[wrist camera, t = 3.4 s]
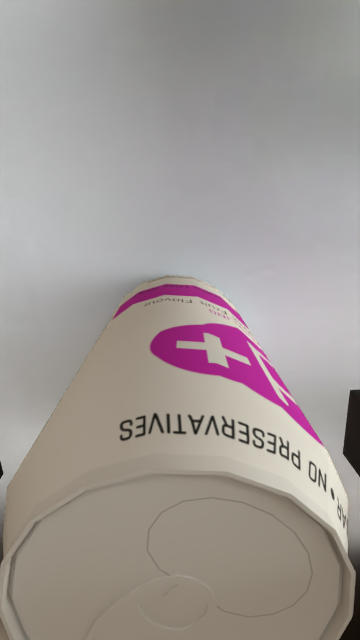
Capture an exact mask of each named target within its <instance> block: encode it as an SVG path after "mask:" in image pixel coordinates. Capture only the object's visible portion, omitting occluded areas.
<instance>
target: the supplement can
mask: <svg viewBox="0 0 360 640" xmlns="http://www.w3.org/2000/svg"><path fill="white" fill-rule="evenodd" d="M3 555H4V559H3V561H2V563H1V568H0V618H1V620H2V622H3V625H4V627H5V629H6V632H7V634H8V636H9V639H10V640H339V639H340V637H341V635H342V634H343V632H344V630H345V629H346V627H347V625H348V623H349V622H350V620H351V618H352V617H353V606H354V592H355V579H356V572H355V570H354V568H353V566H352V564H351V562H350V560H349V558H348V497H347V495H346V492H345V490H344V488H343V485H342V483H341V481H340V479H339V476H338V474H337V472H336V469H335V467H334V465H333V462H332V460H331V458H330V455H329V453H328V452H327V450H326V448H325V447H324V445H323V444H322V442H321V441H320V439H319V438H318V436H317V434H316V433H315V431H314V430H313V428H312V427H311V425H310V424H309V422H308V421H307V419H306V417H305V416H304V414H303V413H302V411H301V410H300V408H299V407H298V405H297V403H296V402H295V400H294V399H293V397H292V396H291V394H290V393H289V391H288V389H287V388H286V386H285V385H284V383H283V382H282V380H281V379H280V377H279V375H278V374H277V372H276V371H275V369H274V368H273V366H272V365H271V363H270V361H269V360H268V358H267V357H266V355H265V354H264V352H263V351H262V349H261V348H260V346H259V344H258V343H257V341H256V340H255V338H254V337H253V335H252V334H251V332H250V330H249V329H248V327H247V326H246V324H245V323H244V321H243V320H242V318H241V316H240V315H239V313H238V312H237V310H236V309H235V307H234V306H233V304H232V303H231V302H230V301H229V300H228V299H227V298H226V297H225V296H224V295H223V294H222V293H221V292H220V291H219V290H218V289H217V288H216V287H215V286H212V285H210V284H208V283H205V282H203V281H201V280H198V279H196V278H194V277H188V276H170V275H167V276H163V277H160V278H156V279H153V280H150V281H146V282H143V283H142V284H141V285H139V286H138V287H137V288H135V289H134V290H133V291H131V292H130V293H129V294H127V295H126V296H125V297H124V298H123V299H122V301H121V303H120V304H119V306H118V307H117V309H116V311H115V312H114V314H113V315H112V317H111V319H110V320H109V322H108V324H107V325H106V327H105V328H104V330H103V332H102V333H101V335H100V337H99V338H98V340H97V341H96V343H95V345H94V346H93V348H92V350H91V351H90V353H89V355H88V356H87V358H86V359H85V361H84V363H83V364H82V366H81V368H80V369H79V371H78V372H77V374H76V376H75V377H74V379H73V381H72V382H71V384H70V386H69V387H68V389H67V390H66V392H65V394H64V395H63V397H62V399H61V400H60V402H59V403H58V405H57V407H56V408H55V410H54V412H53V413H52V415H51V417H50V418H49V420H48V421H47V423H46V425H45V426H44V428H43V430H42V431H41V433H40V435H39V436H38V438H37V439H36V441H35V443H34V444H33V446H32V448H31V449H30V451H29V452H28V454H27V456H26V457H25V459H24V461H23V462H22V464H21V466H20V467H19V469H18V470H17V472H16V474H15V475H14V477H13V479H12V480H11V482H10V483H9V485H8V487H7V497H6V507H5V517H4V528H3Z"/></svg>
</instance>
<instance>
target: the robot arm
mask: <svg viewBox="0 0 360 640" xmlns="http://www.w3.org/2000/svg"><path fill="white" fill-rule="evenodd" d="M343 454H344V456H345V457H346V459H347V460H348V461H349V463H350V464H351V466H352V467H353V468H354V470H355V471H356V472H357V474H358V475H359V477H360V390H350V396H349V405H348V413H347V422H346V430H345V439H344V447H343ZM2 475H3V470H2V466H1V462H0V478H1V477H2Z"/></svg>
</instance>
